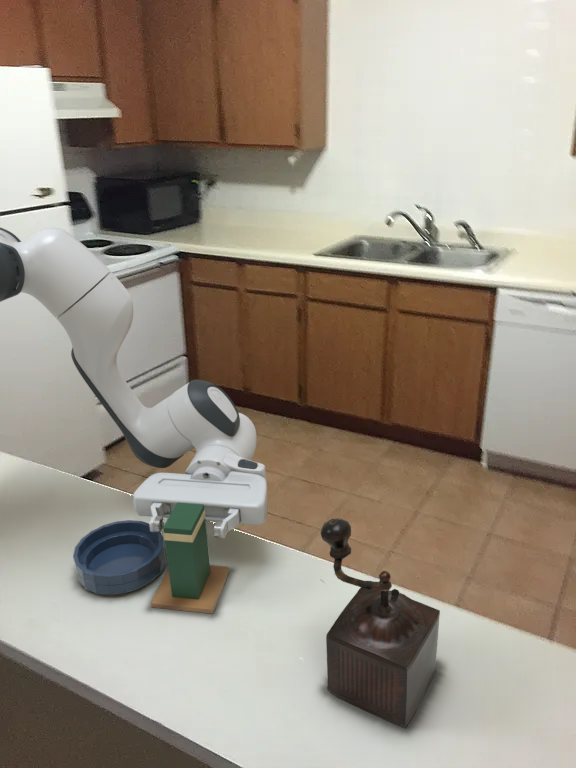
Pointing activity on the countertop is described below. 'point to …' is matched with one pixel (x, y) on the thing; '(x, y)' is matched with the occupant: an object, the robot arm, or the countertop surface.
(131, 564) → the bowl
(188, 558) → the tea packet
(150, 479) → the robot arm
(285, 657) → the countertop surface
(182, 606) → the cork mat
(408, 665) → the manual coffee grinder
